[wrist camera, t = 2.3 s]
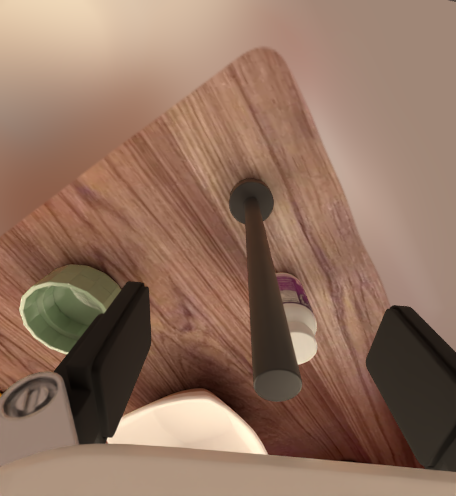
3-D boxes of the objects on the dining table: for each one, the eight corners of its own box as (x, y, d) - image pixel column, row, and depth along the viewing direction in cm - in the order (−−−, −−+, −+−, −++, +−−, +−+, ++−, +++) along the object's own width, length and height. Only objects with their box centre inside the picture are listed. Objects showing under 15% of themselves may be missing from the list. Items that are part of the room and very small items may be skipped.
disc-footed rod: (231, 176, 27) (205, 318, 7) (274, 180, 27) (378, 335, 7) (228, 217, 28) (199, 425, 8) (268, 220, 28) (334, 439, 8)
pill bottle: (305, 302, 33) (329, 366, 24) (264, 311, 33) (272, 375, 25) (298, 265, 31) (321, 320, 22) (254, 275, 31) (259, 332, 23)
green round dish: (38, 258, 32) (8, 277, 28) (124, 266, 32) (107, 287, 28) (55, 326, 36) (32, 351, 32) (131, 333, 36) (117, 359, 32)
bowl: (216, 350, 37) (212, 383, 32) (281, 435, 44) (286, 472, 39) (101, 396, 42) (83, 430, 37) (177, 464, 49) (170, 500, 45)
